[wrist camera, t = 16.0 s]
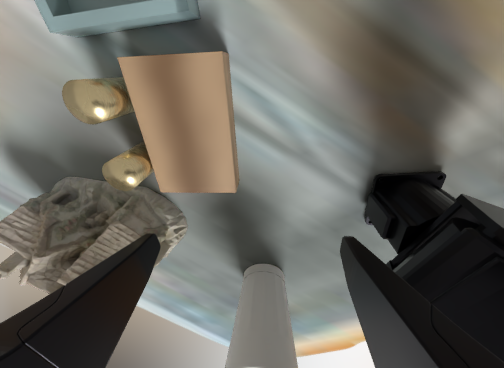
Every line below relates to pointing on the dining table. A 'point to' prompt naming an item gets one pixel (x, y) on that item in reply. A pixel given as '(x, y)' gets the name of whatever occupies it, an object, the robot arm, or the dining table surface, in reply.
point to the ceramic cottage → (83, 229)
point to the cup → (262, 322)
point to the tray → (112, 14)
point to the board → (186, 119)
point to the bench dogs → (102, 109)
